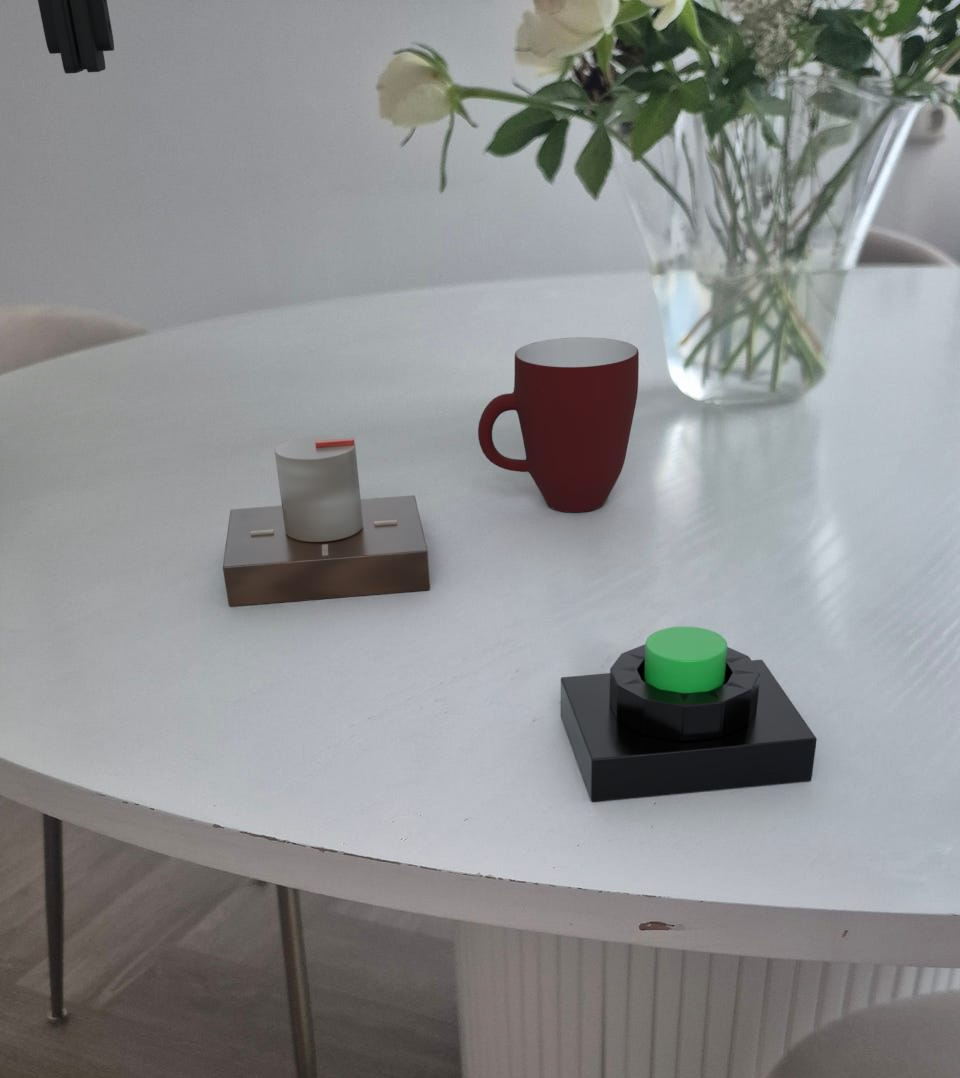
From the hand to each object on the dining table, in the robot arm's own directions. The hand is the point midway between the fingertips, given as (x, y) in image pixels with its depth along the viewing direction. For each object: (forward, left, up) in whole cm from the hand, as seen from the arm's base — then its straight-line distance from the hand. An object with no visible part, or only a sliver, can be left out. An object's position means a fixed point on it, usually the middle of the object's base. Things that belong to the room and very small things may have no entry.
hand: (85, 70), depth 61 cm
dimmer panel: (+9, +2, -27) cm, 29 cm away
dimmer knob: (+9, +2, -25) cm, 26 cm away
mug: (+25, +10, -27) cm, 38 cm away
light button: (+25, -24, -24) cm, 42 cm away
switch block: (+25, -24, -27) cm, 44 cm away
